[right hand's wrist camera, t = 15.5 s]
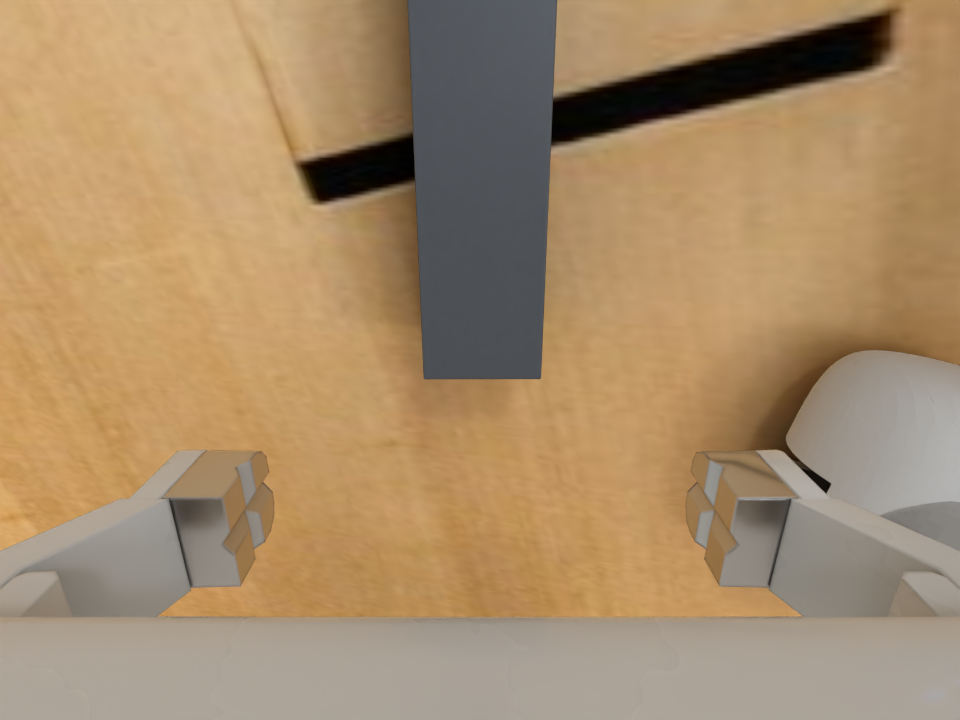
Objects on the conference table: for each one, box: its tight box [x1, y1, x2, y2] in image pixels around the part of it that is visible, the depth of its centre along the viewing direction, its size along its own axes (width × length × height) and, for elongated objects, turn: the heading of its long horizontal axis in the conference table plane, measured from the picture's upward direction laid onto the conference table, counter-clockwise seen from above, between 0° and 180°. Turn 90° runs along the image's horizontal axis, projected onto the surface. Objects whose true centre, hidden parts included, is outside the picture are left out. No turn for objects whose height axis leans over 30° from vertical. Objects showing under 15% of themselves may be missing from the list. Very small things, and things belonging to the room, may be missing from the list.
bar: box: [407, 0, 557, 379], centre depth 26 cm, size 23×6×8 cm, turn 0°
